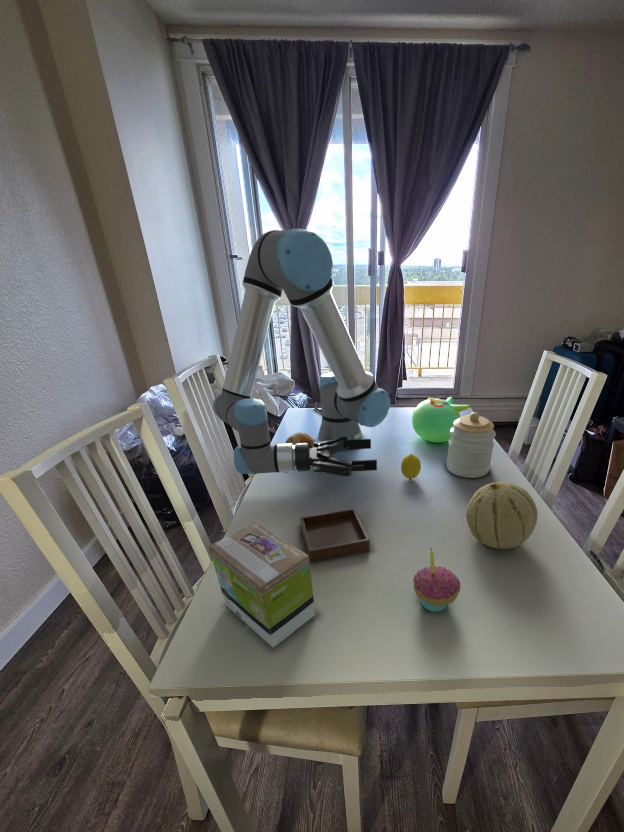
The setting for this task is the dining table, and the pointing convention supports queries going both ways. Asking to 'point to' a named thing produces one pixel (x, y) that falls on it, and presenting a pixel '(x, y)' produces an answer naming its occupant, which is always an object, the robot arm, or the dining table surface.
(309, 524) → the tray
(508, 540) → the cantaloupe
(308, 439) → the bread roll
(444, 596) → the cupcake
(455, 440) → the jar
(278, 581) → the tea box
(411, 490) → the dining table surface
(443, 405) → the toy bird
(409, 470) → the lemon
